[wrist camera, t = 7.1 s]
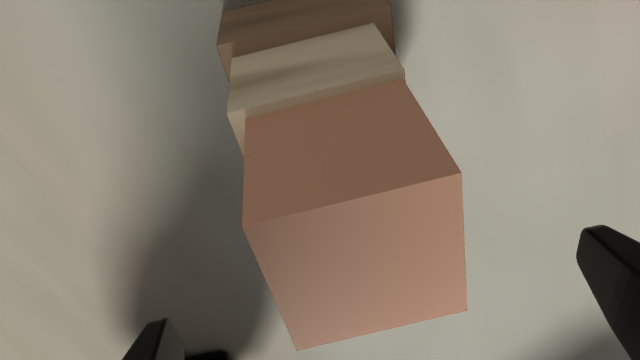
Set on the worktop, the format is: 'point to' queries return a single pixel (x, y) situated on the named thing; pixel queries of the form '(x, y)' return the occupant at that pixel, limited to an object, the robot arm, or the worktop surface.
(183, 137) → the worktop surface
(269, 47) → the tower base
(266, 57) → the tower middle
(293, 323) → the terracotta block
